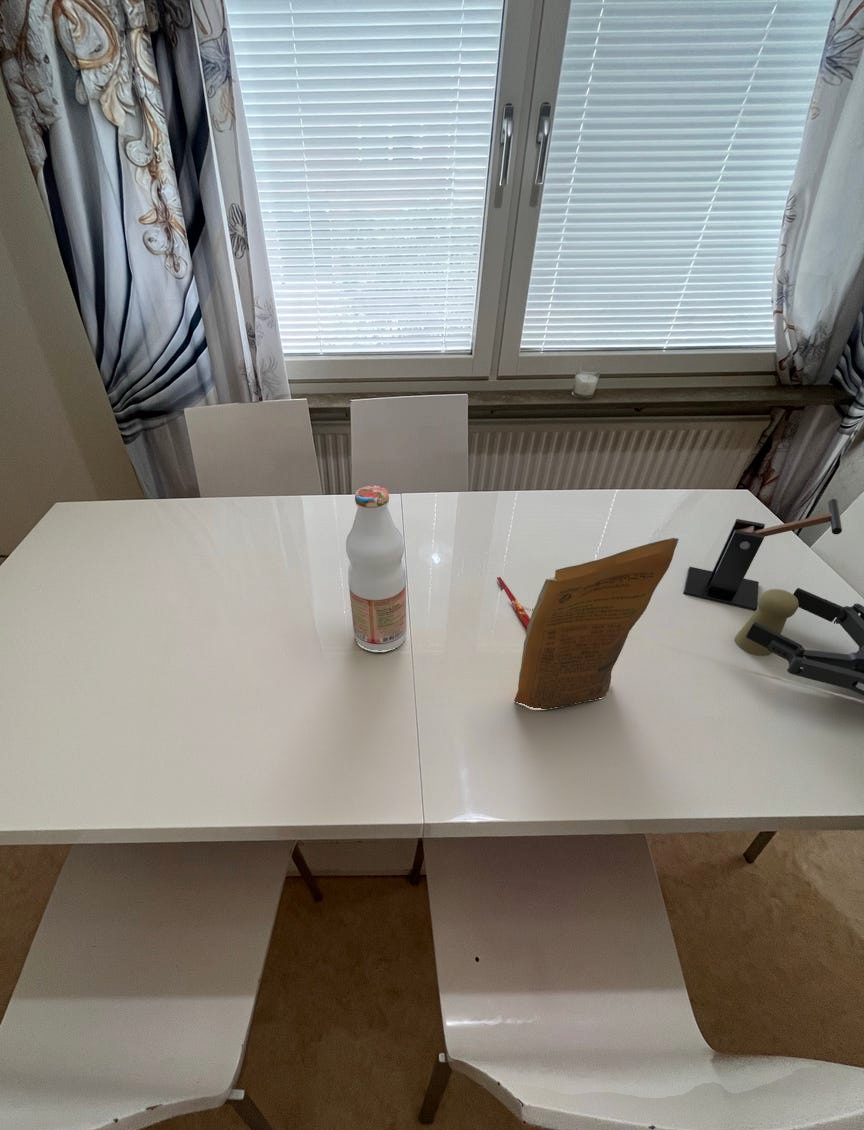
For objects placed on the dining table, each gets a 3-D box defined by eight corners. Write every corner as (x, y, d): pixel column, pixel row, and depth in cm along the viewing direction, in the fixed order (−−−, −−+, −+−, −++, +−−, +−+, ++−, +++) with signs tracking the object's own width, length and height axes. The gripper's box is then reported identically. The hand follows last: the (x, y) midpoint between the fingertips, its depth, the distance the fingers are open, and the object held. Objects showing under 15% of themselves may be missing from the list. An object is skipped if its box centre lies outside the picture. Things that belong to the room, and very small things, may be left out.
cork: (724, 639, 91) (751, 588, 84) (753, 631, 92) (782, 580, 85) (752, 662, 87) (783, 611, 79) (781, 654, 88) (815, 602, 81)
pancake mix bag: (633, 702, 82) (698, 547, 63) (516, 726, 79) (548, 573, 60) (610, 672, 87) (664, 519, 68) (499, 693, 84) (524, 542, 65)
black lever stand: (755, 586, 101) (790, 523, 92) (754, 614, 96) (791, 549, 86) (687, 571, 106) (713, 509, 96) (681, 596, 100) (709, 532, 91)
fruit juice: (346, 648, 93) (328, 503, 75) (365, 615, 100) (353, 474, 81) (397, 659, 91) (391, 512, 72) (413, 625, 97) (412, 482, 78)
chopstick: (501, 578, 106) (501, 574, 106) (556, 659, 89) (557, 655, 88) (492, 580, 106) (492, 576, 106) (545, 662, 89) (546, 658, 88)
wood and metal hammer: (838, 507, 88) (836, 494, 87) (843, 536, 81) (840, 523, 80) (739, 531, 97) (735, 520, 96) (736, 559, 91) (732, 547, 90)
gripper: (880, 753, 69) (721, 663, 82) (950, 667, 79) (798, 599, 92) (917, 716, 64) (741, 626, 77) (986, 629, 74) (820, 563, 87)
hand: (772, 611), depth 85 cm, fingers open, 13 cm apart
